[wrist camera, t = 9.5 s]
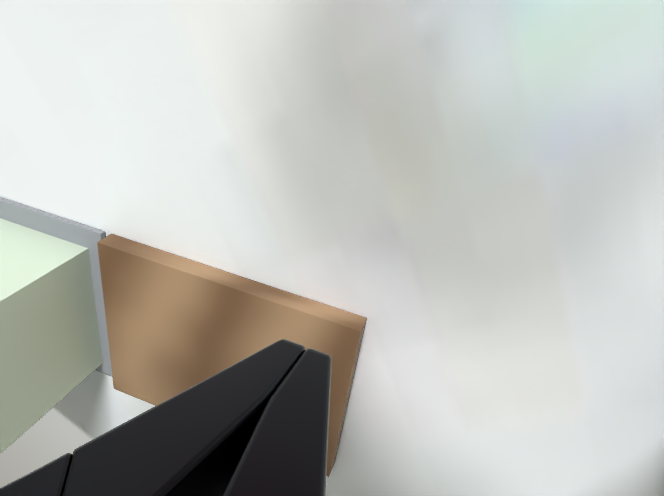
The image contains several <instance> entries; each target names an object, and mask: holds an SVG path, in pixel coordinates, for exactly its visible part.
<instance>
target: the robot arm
mask: <svg viewBox="0 0 664 496" xmlns="http://www.w3.org/2000/svg"><path fill="white" fill-rule="evenodd" d="M331 364H332V358H331V356H330V355H329V354H326V353H323V352H321V351H318V350H315V349H312V348H309V349H306V348H305V347H304V346H303V345H301V344H298V343H295V342H292V341H289V340H287V339H281V340H278V341H276V342H274V343H273V344H271V345H269V346H267V347H265V348H263V349H261V350H259V351H258V352H256V353H254V354H252V355H250V356H248V357H246V358H245V359H243V360H241V361H239V362H237V363H235V364H233V365H232V366H230V367H228V368H226V369H224V370H222V371H220V372H218V373H217V374H215V375H213V376H211V377H209V378H207V379H205V380H204V381H202V382H200V383H198V384H196V385H194V386H192V387H190V388H189V389H187V390H185V391H183V392H181V393H179V394H177V395H176V396H174V397H172V398H170V399H168V400H166V401H164V402H162V403H161V404H159V405H157V406H155V407H153V408H151V409H149V410H148V411H146V412H144V413H142V414H140V415H138V416H136V417H135V418H133V419H131V420H129V421H127V422H125V423H123V424H121V425H120V426H118V427H116V428H114V429H112V430H110V431H108V432H107V433H105V434H103V435H101V436H99V437H97V438H95V439H93V440H92V441H90V442H88V443H86V444H84V445H82V446H80V447H79V448H77V449H75V450H74V452H73V455H72V454H71V453H67V454H65V455H63V456H61V457H60V458H58V459H56V460H54V461H52V462H50V463H48V464H46V465H44V466H43V467H41V468H39V469H37V470H35V471H33V472H31V473H29V474H27V475H25V476H23V477H21V478H19V479H17V480H15V481H13V482H11V483H9V484H8V485H6V486H4V487H2V488H0V496H325V491H326V470H327V449H328V427H329V406H330V385H331Z"/></svg>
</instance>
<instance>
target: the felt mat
mask: <svg viewBox="0 0 664 496" xmlns="http://www.w3.org/2000/svg"><path fill="white" fill-rule="evenodd" d="M0 218H1V219H4V220H7V221H10V222H13V223H16V224H18V225H21V226H24V227H27V228H30V229H33V230H36V231H39V232H42V233H45V234H48V235H51V236H54V237H57V238H60V239H62V240H65V241H68V242H71V243H74V244H77V245H80V246H83V247H86V248H88V250H89V258H90V266H91V274H92V281H93V289H94V297H95V305H96V313H97V321H98V328H99V336H100V344H101V352H102V360H103V363H102V364H101V365H100V366H99V367H98V368H97V369H95V370H97V371H100V372H102V373H105V374H107V375H109V376H112V367H111V359H110V350H109V341H108V333H107V324H106V315H105V307H104V298H103V289H102V281H101V272H100V263H99V255H98V246H97V242H99V241H100V240H102V239H103V238H105V231H102V230H99V229H96V228H93V227H90V226H87V225H84V224H81V223H78V222H74V221H71V220H68V219H65V218H62V217H59V216H56V215H53V214H50V213H47V212H44V211H41V210H38V209H35V208H32V207H29V206H26V205H23V204H20V203H17V202H14V201H11V200H8V199H5V198H2V197H0ZM112 377H113V376H112Z"/></svg>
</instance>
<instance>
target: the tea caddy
mask: <svg viewBox="0 0 664 496" xmlns="http://www.w3.org/2000/svg"><path fill="white" fill-rule="evenodd" d="M102 363H103V360H102V352H101V344H100V336H99V328H98V321H97V313H96V305H95V297H94V289H93V281H92V274H91V266H90V258H89V250H88V248H86V247H83V246H80V245H77V244H74V243H71V242H68V241H65V240H62V239H60V238H57V237H54V236H51V235H48V234H45V233H42V232H39V231H36V230H33V229H30V228H27V227H24V226H21V225H18V224H16V223H13V222H10V221H7V220H4V219H1V218H0V454H1V453H2V452H3V451H5V450H6V449H7V448H8V447H9V446H10V445H11V444H12V443H13V442H15V441H16V440H17V439H18V438H19V437H20V436H21V435H22V434H24V432H26V431H27V430H28V429H29V428H30V427H31V426H33V425H34V424H35V423H36V422H37V421H38V420H39V419H40V418H41V417H43V416H44V415H45V414H46V413H47V412H48V411H49V410H51V409H52V408H53V407H54V406H55V405H56V404H57V403H58V402H59V401H61V400H62V399H63V398H64V397H65V396H66V395H67V394H68V393H70V392H71V391H72V390H73V389H74V388H75V387H76V386H77V385H79V384H80V383H81V382H82V381H83V380H84V379H85V378H86V377H88V376H89V375H90V374H91V373H92V372H93V371H94V370H95V369H97V368H98V367H99V366H100V365H101V364H102Z"/></svg>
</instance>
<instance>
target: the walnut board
mask: <svg viewBox="0 0 664 496" xmlns="http://www.w3.org/2000/svg"><path fill="white" fill-rule="evenodd" d="M97 246H98V255H99V263H100V272H101V281H102V289H103V298H104V307H105V315H106V324H107V333H108V341H109V350H110V359H111V367H112V376H113V385H114V389H116V390H119V391H121V392H124V393H126V394H128V395H131V396H133V397H136V398H138V399H141V400H143V401H146V402H148V403H150V404H153V405H155V406H157V405H159V404H161V403H162V402H164V401H166V400H168V399H170V398H172V397H174V396H176V395H177V394H179V393H181V392H183V391H185V390H187V389H189V388H190V387H192V386H194V385H196V384H198V383H200V382H202V381H204V380H205V379H207V378H209V377H211V376H213V375H215V374H217V373H218V372H220V371H222V370H224V369H226V368H228V367H230V366H232V365H233V364H235V363H237V362H239V361H241V360H243V359H245V358H246V357H248V356H250V355H252V354H254V353H256V352H258V351H259V350H261V349H263V348H265V347H267V346H269V345H271V344H273V343H274V342H276V341H278V340H281V339H287V340H289V341H292V342H295V343H298V344H301V345H303V346H304V347H305V348H306V349H309V348H312V349H315V350H318V351H321V352H323V353H326V354H329V355H330V356H331V358H332V364H331V385H330V406H329V427H328V449H327V470H326V476H328V477H329V475H330V472H331V470H332V467H333V465H334V463H335V459H336V454H337V450H338V445H339V441H340V436H341V432H342V427H343V423H344V418H345V414H346V409H347V405H348V400H349V396H350V391H351V387H352V382H353V378H354V373H355V369H356V364H357V360H358V355H359V351H360V346H361V342H362V337H363V333H364V328H365V324H366V319H367V318H365V317H362V316H359V315H356V314H353V313H350V312H347V311H344V310H341V309H338V308H335V307H332V306H329V305H326V304H323V303H320V302H317V301H314V300H311V299H307V298H304V297H301V296H298V295H295V294H292V293H289V292H286V291H283V290H280V289H277V288H274V287H271V286H268V285H265V284H262V283H259V282H256V281H253V280H250V279H247V278H244V277H241V276H238V275H235V274H232V273H229V272H226V271H223V270H220V269H217V268H214V267H211V266H208V265H205V264H202V263H199V262H196V261H192V260H189V259H186V258H183V257H180V256H177V255H174V254H171V253H168V252H165V251H162V250H159V249H156V248H153V247H150V246H147V245H144V244H141V243H138V242H135V241H132V240H129V239H126V238H123V237H120V236H117V235H114V234H110V235H108V236H107V237H105V238H103V239H102V240H100V241H99V242H97Z"/></svg>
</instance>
